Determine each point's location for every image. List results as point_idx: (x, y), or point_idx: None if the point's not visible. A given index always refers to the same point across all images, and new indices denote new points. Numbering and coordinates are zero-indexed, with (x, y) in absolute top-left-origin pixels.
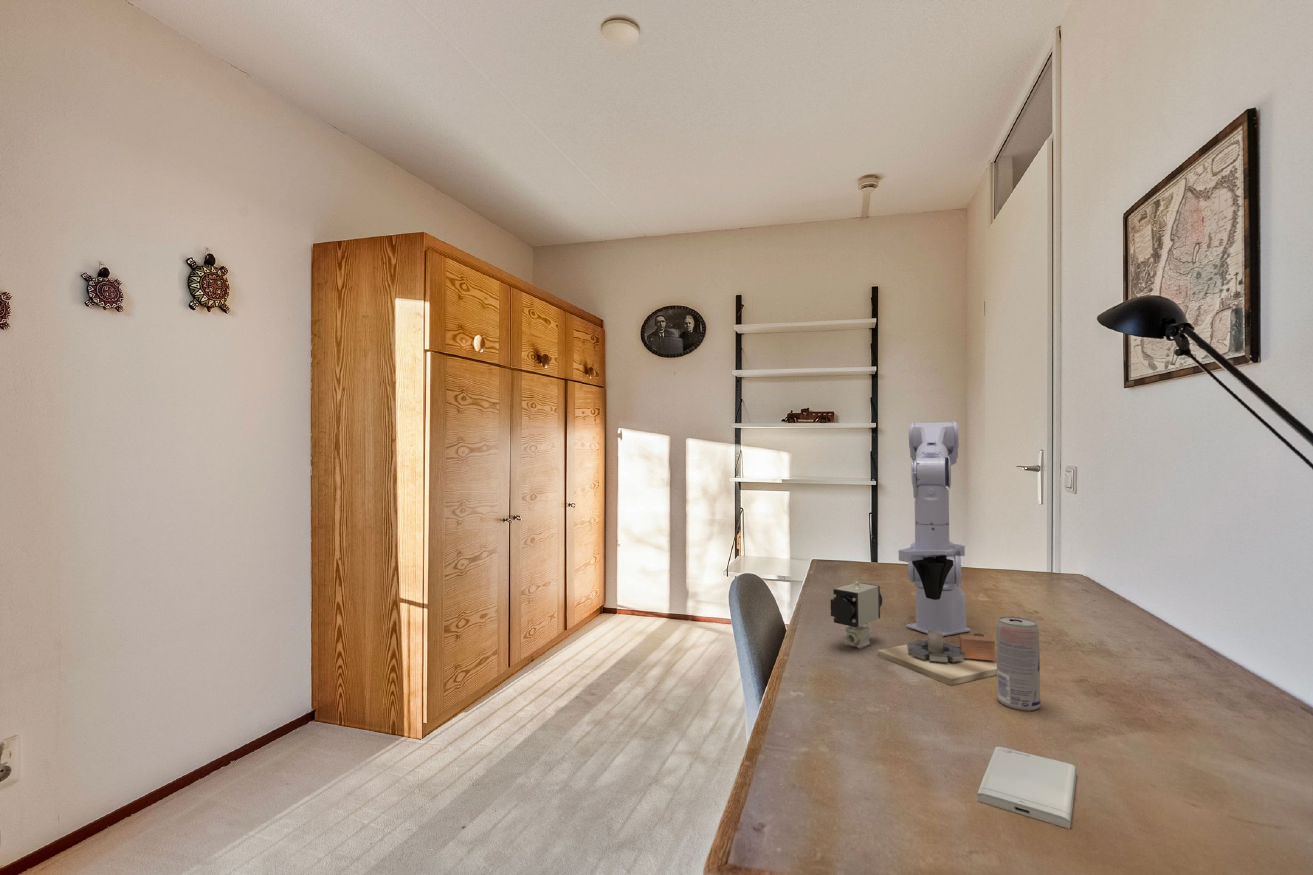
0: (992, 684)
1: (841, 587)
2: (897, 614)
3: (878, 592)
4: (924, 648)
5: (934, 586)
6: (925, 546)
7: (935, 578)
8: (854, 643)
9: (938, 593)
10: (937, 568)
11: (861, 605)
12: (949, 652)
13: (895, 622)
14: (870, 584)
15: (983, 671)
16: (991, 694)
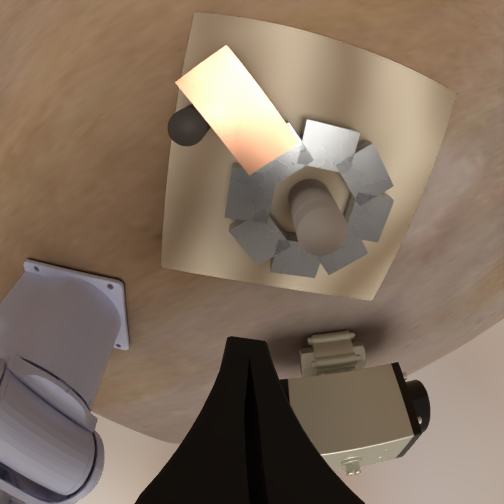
0: (367, 14)
1: (373, 462)
2: None
3: None
4: None
5: (286, 398)
6: None
7: (304, 439)
8: (361, 342)
9: (252, 360)
10: (328, 499)
11: (388, 408)
12: (320, 160)
13: (123, 366)
14: None
15: (342, 43)
16: (430, 6)
